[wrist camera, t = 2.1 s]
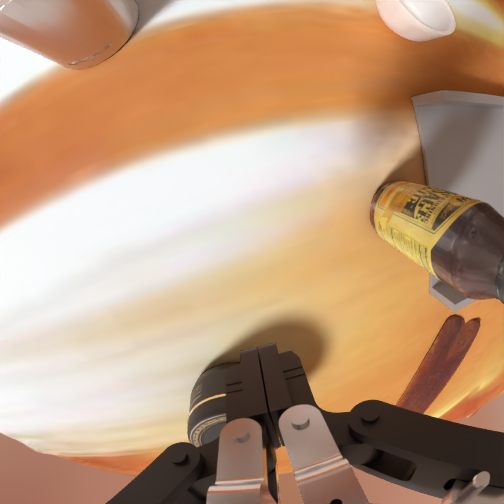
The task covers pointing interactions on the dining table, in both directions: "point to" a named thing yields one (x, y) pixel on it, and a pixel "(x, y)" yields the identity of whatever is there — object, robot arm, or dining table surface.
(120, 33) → the robot arm
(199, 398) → the jar
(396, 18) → the teacup
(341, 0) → the dining table surface
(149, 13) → the dining table surface
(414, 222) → the sauce bottle
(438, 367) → the wooden tablet
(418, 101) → the tray
